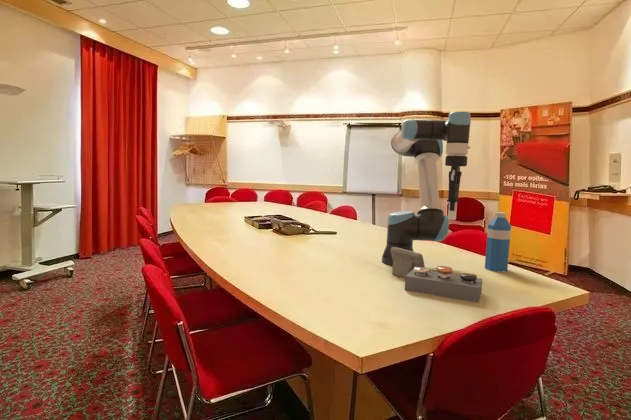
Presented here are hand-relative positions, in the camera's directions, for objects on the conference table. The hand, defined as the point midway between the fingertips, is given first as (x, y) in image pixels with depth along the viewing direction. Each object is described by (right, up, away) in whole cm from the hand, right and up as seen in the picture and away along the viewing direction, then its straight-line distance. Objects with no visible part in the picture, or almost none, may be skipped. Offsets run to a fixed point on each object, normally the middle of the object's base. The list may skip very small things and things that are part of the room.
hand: (451, 219), depth 142 cm
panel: (-6, -25, -8) cm, 27 cm away
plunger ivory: (-13, -22, -5) cm, 26 cm away
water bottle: (+29, -23, +26) cm, 45 cm away
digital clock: (-14, -23, +11) cm, 29 cm away
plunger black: (+1, -23, -12) cm, 26 cm away
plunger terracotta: (-6, -21, -8) cm, 24 cm away
